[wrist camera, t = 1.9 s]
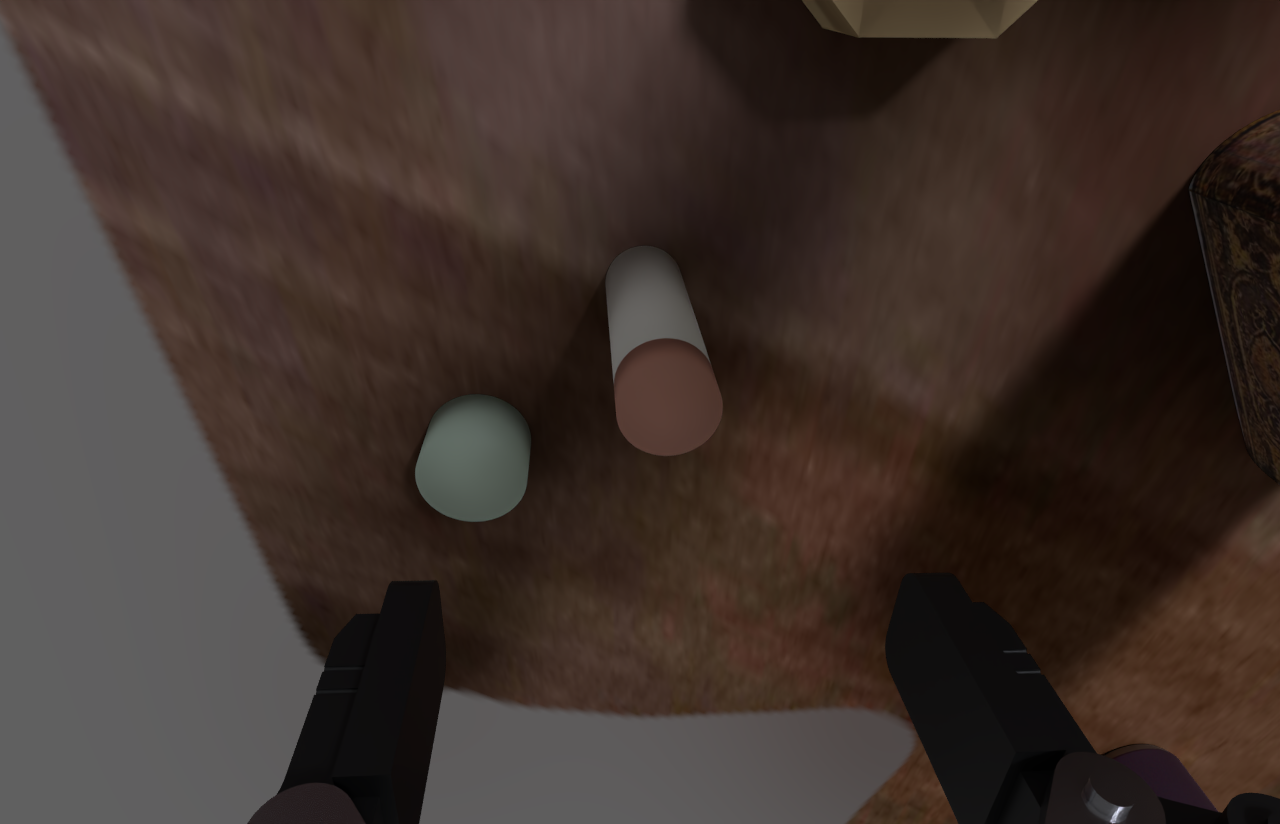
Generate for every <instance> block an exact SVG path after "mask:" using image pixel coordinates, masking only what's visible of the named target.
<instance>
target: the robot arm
mask: <svg viewBox="0 0 1280 824" xmlns="http://www.w3.org/2000/svg"><path fill="white" fill-rule="evenodd" d="M885 650H886V659H887V664H888V668H889V671H890V673H891V676H892V678H893V680H894V682H895V685H896V687H897V689H898V691H899V693H900V696H901V698H902V700H903V702H904V704H905V707H906V709H907V711H908V713H909V715H910V718H911V720H912V722H913V724H914V726H915V729H916V731H917V733H918V735H919V737H920V740H921V742H922V744H923V746H924V748H925V751H926V753H927V755H928V757H929V760H930V762H931V764H932V766H933V768H934V771H935V773H936V775H937V777H938V779H939V782H940V784H941V786H942V788H943V790H944V793H945V795H946V797H947V799H948V801H949V804H950V806H951V808H952V810H953V812H954V815H955V817H956V819H957V821H958V823H959V824H1280V799H1278V798H1275V797H1272V796H1269V795H1264V794H1259V793H1243V794H1240V795H1237V796H1236V797H1234V798H1232V800H1231V801H1230V802H1229V804H1228V805H1227V807H1226V808H1225V809H1224V811H1223V812H1222V813H1220V812H1216V811H1212V810H1208V809H1204V808H1200V807H1196V806H1192V805H1188V804H1184V803H1180V802H1176V801H1172V800H1168V799H1165V798H1162V797H1158V796H1157V795H1156V794H1155V792H1154V791H1153V790H1152V789H1151V787H1150V786H1149V785H1148V784H1147V783H1146V782H1145V781H1144V780H1143V779H1142V778H1141V777H1140V776H1139V775H1137V774H1136V773H1135V772H1134V771H1132V770H1131V769H1129V768H1128V767H1126V766H1125V765H1123V764H1121V763H1120V762H1118V761H1116V760H1114V759H1111V758H1109V757H1106V756H1104V755H1100V754H1097V753H1096V751H1095V750H1094V749H1093V747H1092V746H1091V744H1090V743H1089V741H1088V740H1087V738H1086V737H1085V735H1084V734H1083V732H1082V731H1081V729H1080V728H1079V726H1078V725H1077V723H1076V722H1075V720H1074V719H1073V717H1072V716H1071V714H1070V713H1069V711H1068V710H1067V708H1066V707H1065V705H1064V704H1063V702H1062V701H1061V699H1060V698H1059V696H1058V695H1057V694H1056V692H1055V691H1054V689H1053V688H1052V686H1051V685H1050V683H1049V682H1048V680H1047V679H1046V677H1045V676H1044V675H1041V673H1040V668H1039V667H1038V665H1037V664H1036V662H1035V661H1034V659H1033V658H1032V656H1031V655H1030V654H1027V652H1026V647H1025V646H1024V644H1023V643H1022V641H1021V640H1020V638H1019V637H1018V635H1017V634H1016V632H1015V631H1014V629H1013V628H1012V626H1011V625H1010V624H1009V623H1008V622H1007V621H1006V620H1005V619H1003V618H1002V617H1001V616H1000V615H999V614H997V613H996V612H995V611H994V610H993V609H991V608H990V607H989V606H988V605H986V604H985V603H984V602H972V601H971V599H970V598H969V596H968V595H967V593H966V592H965V590H964V588H963V587H962V585H961V584H960V582H959V581H958V579H957V578H956V577H955V576H954V575H953V574H951V573H909V574H906V575H905V576H904V578H903V579H902V582H901V585H900V589H899V592H898V596H897V599H896V603H895V607H894V610H893V614H892V617H891V621H890V624H889V628H888V631H887V635H886V643H885ZM324 667H325V669H324V672H322V675H321V677H320V680H319V683H318V686H317V689H316V691H317V692H316V695H314V698H313V700H312V703H311V706H310V709H309V711H308V714H307V717H306V720H305V723H304V726H303V728H302V731H301V734H300V737H299V740H298V742H297V745H296V748H295V751H294V754H293V757H292V759H291V762H290V765H289V768H288V771H287V774H286V776H285V779H284V782H283V784H282V786H281V788H280V790H279V792H278V793H277V795H276V796H275V797H273V798H271V799H270V800H269V801H267V802H266V803H265V804H264V805H263V806H261V808H260V809H259V810H258V811H257V812H256V813H255V814H254V815H253V817H252V818H251V819H250V821H249V822H248V824H419V821H420V815H421V810H422V804H423V799H424V793H425V787H426V782H427V776H428V770H429V765H430V759H431V754H432V748H433V743H434V737H435V731H436V726H437V719H438V714H439V709H440V703H441V697H442V692H443V686H444V679H445V668H446V646H445V636H444V627H443V618H442V609H441V600H440V591H439V585H438V582H437V581H436V580H432V581H392V582H391V583H390V584H389V586H388V589H387V592H386V596H385V599H384V603H383V606H382V609H381V613H380V614H356V615H355V616H354V617H353V618H352V619H351V620H350V622H349V623H348V624H347V625H346V626H345V627H344V628H343V629H342V630H341V632H340V633H339V634H338V635H337V636H336V637H335V638H334V641H333V644H332V646H331V649H330V652H329V655H328V658H327V661H326V663H325V666H324Z"/></svg>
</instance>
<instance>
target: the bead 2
mask: <svg viewBox="0 0 1280 824" xmlns="http://www.w3.org/2000/svg"><path fill="white" fill-rule="evenodd" d="M802 1H803V3H804V4H805V5H806V7H807V8H808V9H809V11H810V12H811V13H812V15H813V16H814V17H815V18H816V20H817V21H818V22H819V24H820V25H821V26H822V28H824V29H828V30H832V31H835V32H839V33H843V34H847V35H850V36H854V37H858V38H861V37H884V38H993V39H996V38H998V36H999V35H1001V34H1002V33H1003V32H1004V31H1005V30H1006V29H1007V28H1008V27H1009V26H1010V25H1012V24H1013V23H1014V22H1015V21H1016V20H1017V19H1018V18H1019V17H1020V16H1021V15H1023V14H1024V13H1025V12H1026V11H1027V10H1028V9H1029V8H1030V7H1031V6H1032V5H1034V4H1035V3H1036V2H1037V1H1038V0H802Z"/></svg>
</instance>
